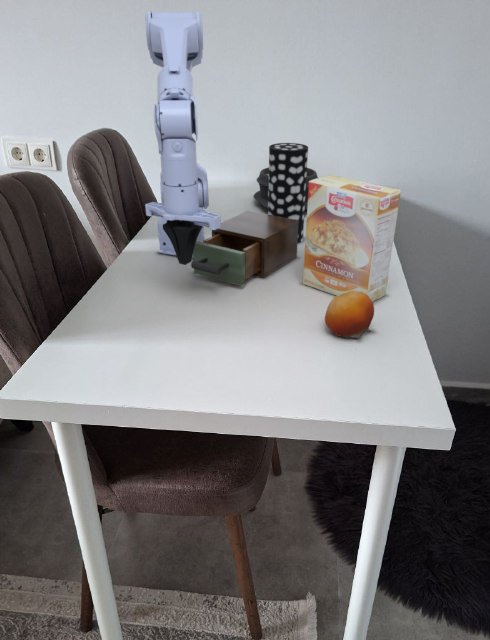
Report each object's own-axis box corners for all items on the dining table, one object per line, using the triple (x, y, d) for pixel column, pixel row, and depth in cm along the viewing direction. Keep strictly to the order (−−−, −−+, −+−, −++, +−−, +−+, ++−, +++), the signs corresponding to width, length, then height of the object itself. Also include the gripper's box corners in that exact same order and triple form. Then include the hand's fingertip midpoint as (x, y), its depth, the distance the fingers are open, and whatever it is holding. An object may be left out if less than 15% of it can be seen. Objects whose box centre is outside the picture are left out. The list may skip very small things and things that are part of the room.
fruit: (372, 342, 90) (352, 296, 87) (331, 353, 95) (311, 309, 93) (390, 322, 95) (372, 278, 93) (350, 333, 100) (332, 292, 98)
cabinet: (264, 278, 114) (264, 238, 109) (212, 265, 119) (211, 227, 115) (296, 257, 123) (298, 220, 119) (247, 246, 129) (247, 210, 124)
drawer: (229, 293, 106) (228, 261, 102) (180, 280, 111) (178, 248, 107) (275, 265, 117) (276, 235, 114) (229, 254, 122) (228, 225, 119)
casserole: (322, 218, 146) (325, 184, 141) (250, 216, 147) (250, 182, 142) (319, 192, 166) (322, 161, 161) (256, 190, 167) (256, 160, 162)
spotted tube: (262, 242, 131) (263, 148, 120) (274, 231, 138) (277, 141, 126) (296, 247, 129) (301, 152, 117) (307, 235, 135) (313, 144, 124)
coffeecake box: (301, 284, 112) (307, 180, 101) (323, 273, 116) (331, 173, 105) (364, 307, 103) (379, 197, 92) (386, 295, 108) (402, 188, 96)
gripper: (129, 181, 93) (138, 261, 101) (201, 194, 87) (205, 278, 95) (157, 172, 98) (164, 249, 106) (227, 184, 92) (229, 265, 100)
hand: (185, 262), depth 101 cm, fingers closed
